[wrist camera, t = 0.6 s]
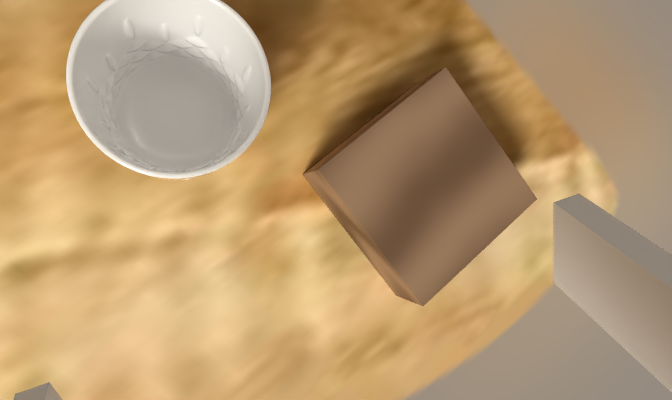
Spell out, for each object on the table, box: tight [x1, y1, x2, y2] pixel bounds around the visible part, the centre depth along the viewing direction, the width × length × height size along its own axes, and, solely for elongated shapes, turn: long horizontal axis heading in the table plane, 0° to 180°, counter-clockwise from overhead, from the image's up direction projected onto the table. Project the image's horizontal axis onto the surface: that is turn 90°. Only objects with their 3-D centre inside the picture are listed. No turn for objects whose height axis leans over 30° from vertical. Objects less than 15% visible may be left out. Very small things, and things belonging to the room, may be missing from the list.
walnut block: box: [303, 67, 537, 306], centre depth 33 cm, size 10×10×4 cm
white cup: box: [66, 0, 271, 180], centre depth 26 cm, size 8×8×10 cm
